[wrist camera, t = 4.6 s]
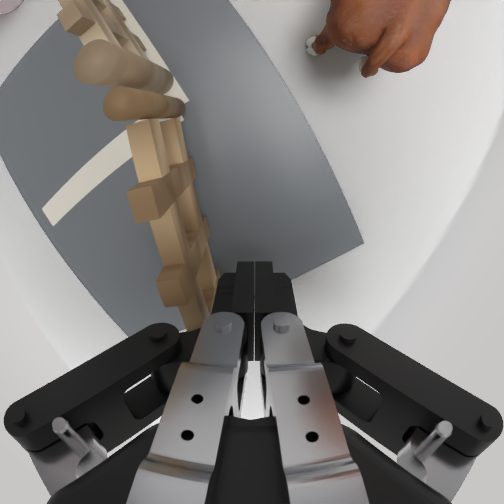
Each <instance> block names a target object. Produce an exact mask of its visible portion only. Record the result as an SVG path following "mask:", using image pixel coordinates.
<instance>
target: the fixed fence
mask: <svg viewBox="0 0 504 504" xmlns="http://www.w3.org/2000/svg"><path fill="white" fill-rule="evenodd" d="M58 1H59V3H60V5H61V6H62V8H63V9H62V10H61V11H60V12H59V13H58V14H57V16H58V18H59V20H60V22H61V24H62V25H63V27H64V29H65V31H66V32H69V33H72V34H75V35H78V37H79V38H80V40H81V42H82V44H83V45H84V46H83V47H82V48H81V50H80V51H79V52H78V54H77V56H76V58H75V61H74V66H73V70H74V75H75V77H76V79H77V80H78V81H79V82H81V83H84V84H91V85H99V86H106V87H113V88H115V87H119V86H124V87H129V88H134V89H139V90H144V91H149V92H154V93H158V94H162V95H163V94H165V93H167V92H168V91H169V90H170V89H171V88H172V86H173V82H174V78H173V75H172V73H171V72H170V71H168V70H167V69H165V68H163V67H161V66H159V65H157V64H155V63H153V62H151V61H149V59H148V58H147V56H146V55H145V53H144V52H145V51H146V50H147V49H146V48H145V46H144V45H143V43H142V42H141V40H140V39H139V37H138V36H136V35H134V34H133V33H131V32H130V31H129V29H128V28H127V26H126V25H125V23H124V20H126V18H125V16H124V15H123V13H122V12H121V10H120V9H119V8H118V7H117V6H115V5H114V4H112V3H111V2H110V1H109V0H58Z"/></svg>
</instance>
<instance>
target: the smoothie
mask: <svg viewBox="0 0 504 504" xmlns="http://www.w3.org/2000/svg"><path fill="white" fill-rule="evenodd" d="M22 1H23V0H0V14H8V13H10V12H12V11H13V10H14V9H16V8H17V7H18V6H19V5H20V4H21V3H22Z"/></svg>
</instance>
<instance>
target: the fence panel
mask: <svg viewBox="0 0 504 504" xmlns="http://www.w3.org/2000/svg"><path fill="white" fill-rule="evenodd" d="M184 110H185V105H184V102H183V101H182V100H181V99H179V98H175V97H171V96H167V95H162V94H158V93H154V92H149V91H144V90H139V89H134V88H129V87H124V86H119V87H115V88H113V89H112V90H110V91H109V92H108V93H107V95H106V96H105V98H104V101H103V111H104V114H105V115H106V117H107V118H108V119H110V120H112V121H127V120H143V119H147V120H143V121H140V122H137V123H134V124H131V125H128V126H126V130H127V135H128V139H129V144H130V148H131V153H132V157H133V161H134V165H135V169H136V173H137V177H138V181H139V183H138V184H137V185H135V186H134V187H132V188H131V189H129V190H128V191H126V193H127V196H128V200H129V203H130V207H131V210H132V214H133V217H134V220H135V224H137V223H142V222H147V221H150V225H151V228H152V231H153V234H154V238H155V241H156V244H157V247H158V251H159V254H160V257H161V260H162V263H163V266H164V267H163V269H162V271H161V272H160V274H159V276H158V278H157V280H156V282H155V283H156V286H157V288H158V291H159V294H160V296H161V299H162V301H163V304H164V307H165V308H166V307H176V306H178V309H179V311H180V314H181V317H182V319H183V322H184V324H185V327H186V330H187V332H188V331H193V330H196V329H199V328H201V327H202V324H203V322H204V320H205V319H206V318H207V317H208V316H210V315H211V312H212V307H213V303H214V298H215V294H216V289H217V284H218V279H219V278H220V277H221V276H220V272H219V269H214V265H213V261H212V258H211V254H210V250H209V246H208V239H209V236H210V231H209V227H208V223H207V219H206V216H201V213H200V208H199V204H198V200H197V196H196V191H195V187H194V182H193V180H194V179H195V178H196V177H197V174H196V170H195V165H194V161H193V157H188V155H187V150H186V145H185V141H184V136H183V131H182V126H181V121H180V118H178V117H180V116H181V115H182V114H183V113H184ZM168 118H172V119H169V120H165V121H161V122H159V119H168Z"/></svg>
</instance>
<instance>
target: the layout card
mask: <svg viewBox="0 0 504 504" xmlns="http://www.w3.org/2000/svg"><path fill="white" fill-rule="evenodd" d="M109 1H110V2H111V3H112V4H114V5H115V6H117V7H118V8H119V9H120V10H121V12H122V13H123V15H124V16H125V18H126V20H124V23H125V25H126V26H127V28H128V29H129V31H130V32H131V33H133V34H134V35H136V36H138V37H139V39H140V40H141V42H142V43H143V45H144V46H145V48H146V49H147V50H146V51H145V52H144V53H145V55H146V56H147V58H148V59H149V61H151V62H153V63H155V64H157V65H159V66H161V67H163V68H165V69H167V70H168V71H170V72H171V73H172V75H173V78H174V82H173V86H172V88H171V89H170V90H169V91H168V92H167V93H165V94H163V95H167V96H171V97H175V98H179V99H181V100H182V101H183V102H184V105H185V110H184V113H183V114H182V115H181V116H180V117H178V118H180V121H181V126H182V131H183V136H184V141H185V145H186V150H187V155H188V157H193V161H194V165H195V170H196V174H197V177H196V178H195V179H194V180H193V182H194V187H195V191H196V196H197V200H198V204H199V208H200V213H201V216H206V219H207V223H208V227H209V231H210V236H209V239H208V246H209V250H210V254H211V258H212V261H213V265H214V269H219V272H220V276H222V275H223V274H224V273H236V267H237V261H254V297H255V261H272V264H273V273H286V275H287V276H288V277H289V278H290V279H291V280H292V279H294V278H296V277H298V276H300V275H302V274H304V273H306V272H308V271H310V270H312V269H314V268H316V267H318V266H320V265H322V264H324V263H326V262H328V261H330V260H332V259H334V258H336V257H338V256H340V255H342V254H344V253H346V252H348V251H350V250H352V249H354V248H356V247H358V246H359V245H361V244H363V243H364V242H363V239H362V237H361V234H360V232H359V229H358V227H357V225H356V222H355V220H354V217H353V215H352V213H351V210H350V208H349V206H348V204H347V201H346V199H345V197H344V195H343V192H342V190H341V188H340V186H339V184H338V181H337V179H336V177H335V175H334V173H333V171H332V169H331V167H330V165H329V163H328V161H327V159H326V157H325V155H324V153H323V151H322V149H321V147H320V145H319V143H318V141H317V139H316V137H315V135H314V133H313V131H312V130H311V128H310V126H309V124H308V122H307V120H306V119H305V117H304V115H303V113H302V111H301V110H300V108H299V106H298V104H297V103H296V101H295V99H294V97H293V96H292V94H291V92H290V91H289V89H288V87H287V86H286V84H285V82H284V81H283V79H282V77H281V76H280V74H279V72H278V71H277V69H276V68H275V66H274V65H273V63H272V61H271V60H270V58H269V57H268V55H267V54H266V52H265V51H264V49H263V48H262V46H261V45H260V43H259V42H258V40H257V39H256V37H255V36H254V34H253V33H252V32H251V30H250V29H249V27H248V26H247V25H246V23H245V22H244V20H243V19H242V18H241V16H240V15H239V14H238V12H237V11H236V10H235V8H234V7H233V6H232V4H231V3H230V2H229V0H109ZM83 46H84V45H83V44H82V42H81V40H80V38H79V37H78V35H75V34H72V33H69V32H66V31H65V29H64V27H63V25H62V24H61V22H60V20H59V19H58V20H57V21H56V22H55V23H54V24H53V25H52V26H51V27H50V28H49V29H48V30H47V31H46V32H45V33H44V34H43V35H42V36H41V37H40V38H39V39H38V41H37V42H36V43H35V44H34V45H33V46H32V47H31V48H30V50H29V51H28V52H27V53H26V54H25V55H24V57H23V58H22V59H21V60H20V61H19V63H18V64H17V65H16V66H15V68H14V69H13V70H12V72H11V73H10V74H9V76H8V77H7V78H6V80H5V81H4V82H3V84H2V85H1V87H0V155H1V157H2V159H3V161H4V163H5V165H6V167H7V169H8V171H9V173H10V175H11V177H12V179H13V180H14V182H15V184H16V186H17V188H18V190H19V191H20V193H21V195H22V197H23V198H24V200H25V202H26V203H27V205H28V207H29V208H30V210H31V212H32V213H33V215H34V216H35V218H36V220H37V221H38V223H39V224H40V226H41V227H42V229H43V230H44V232H45V233H46V235H47V236H48V238H49V239H50V241H51V242H52V244H53V245H54V247H55V248H56V249H57V251H58V252H59V254H60V255H61V256H62V258H63V259H64V261H65V262H66V263H67V265H68V266H69V267H70V269H71V270H72V271H73V273H74V274H75V275H76V276H77V278H78V279H79V280H80V282H81V283H82V284H83V285H84V287H85V288H86V289H87V290H88V291H89V293H90V294H91V295H92V296H93V298H94V299H95V300H96V301H97V302H98V303H99V305H100V306H101V307H102V308H103V309H104V310H105V312H106V313H107V314H108V315H109V316H110V317H111V318H112V319H113V321H114V322H115V323H116V324H117V325H118V326H119V327H120V328H121V329H122V330H123V331H124V333H125V334H126V335H127V336H128V337H130V336H132V335H133V334H135V333H137V332H138V331H140V330H142V329H144V328H145V327H147V326H149V325H151V324H155V323H169V324H172V325H174V326H175V327H176V328H177V329H178V331H181V330H183V329H186V327H185V324H184V322H183V319H182V317H181V314H180V311H179V309H178V306H176V307H166V308H165V307H164V304H163V301H162V299H161V296H160V294H159V291H158V288H157V286H156V283H155V282H156V280H157V278H158V276H159V274H160V272H161V271H162V269H163V267H164V266H163V263H162V260H161V257H160V254H159V251H158V247H157V244H156V241H155V238H154V234H153V231H152V228H151V225H150V221H147V222H142V223H137V224H135V220H134V217H133V214H132V210H131V207H130V203H129V200H128V196H127V193H126V191H128V190H129V189H131V188H132V187H134V186H135V185H137V184H138V183H139V181H138V177H137V173H136V169H135V165H134V161H133V157H132V153H131V148H130V144H129V139H128V135H127V130H126V126H128V125H131V124H134V123H137V122H140V121H143V120H147V119H143V120H127V121H112V120H110V119H108V118H107V117H106V115H105V114H104V111H103V101H104V98H105V96H106V95H107V93H108V92H109V91H110V90H112V89H113V87H106V86H99V85H91V84H84V83H81V82H79V81H78V80H77V79H76V77H75V75H74V70H73V66H74V61H75V58H76V56H77V54H78V52H79V51H80V50H81V48H82V47H83ZM169 119H172V118H168V119H159V122H161V121H165V120H169Z"/></svg>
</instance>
